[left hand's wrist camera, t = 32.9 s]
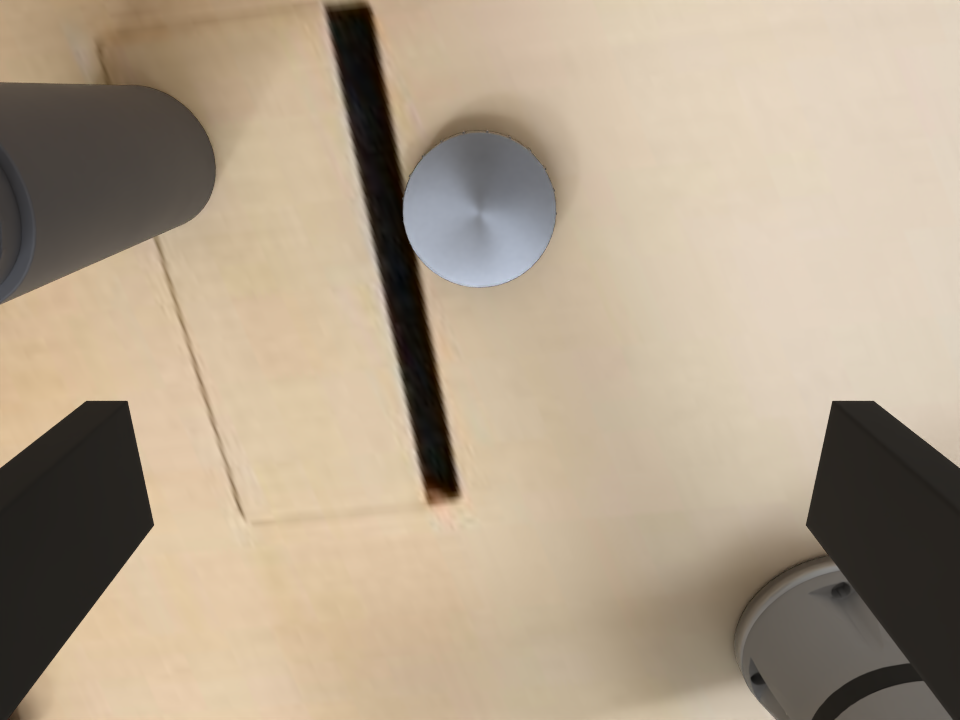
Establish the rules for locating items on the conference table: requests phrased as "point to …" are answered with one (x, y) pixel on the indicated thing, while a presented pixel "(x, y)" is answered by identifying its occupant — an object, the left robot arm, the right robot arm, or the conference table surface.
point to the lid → (479, 209)
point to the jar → (92, 175)
